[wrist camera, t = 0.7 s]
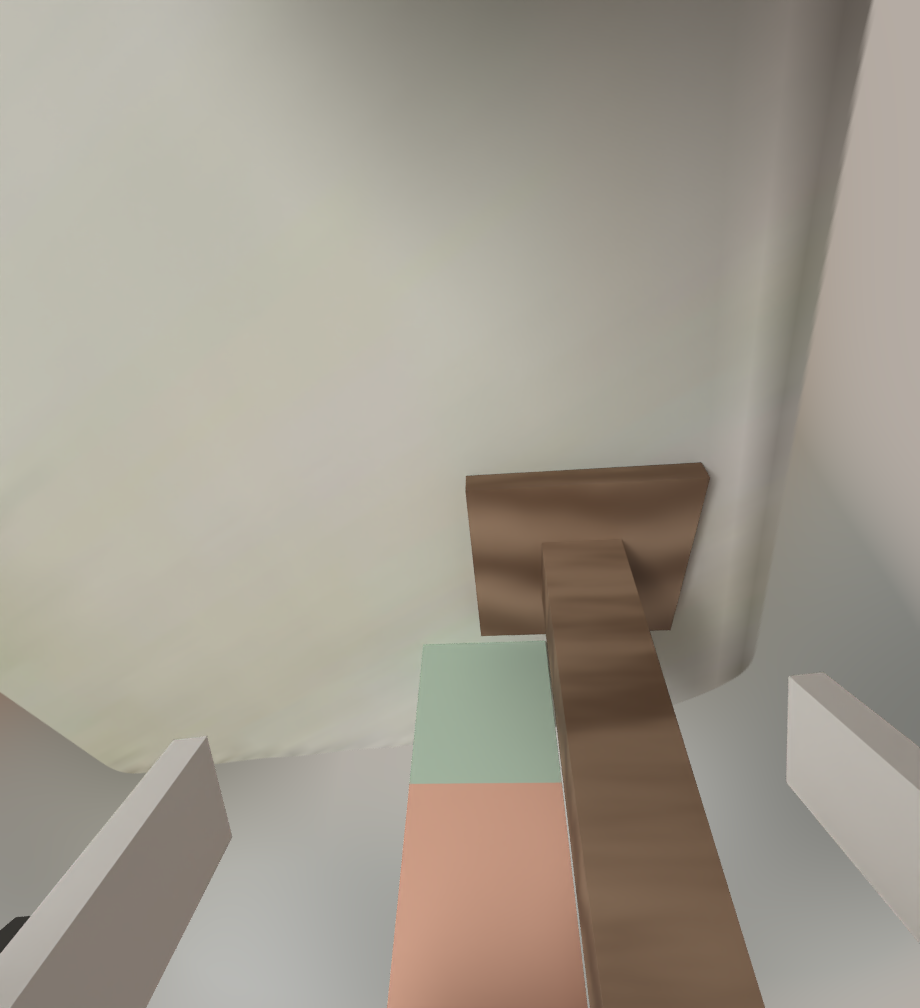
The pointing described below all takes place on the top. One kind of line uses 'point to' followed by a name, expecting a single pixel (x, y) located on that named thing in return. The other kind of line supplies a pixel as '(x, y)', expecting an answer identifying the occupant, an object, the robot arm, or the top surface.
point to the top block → (486, 900)
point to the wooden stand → (617, 719)
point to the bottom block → (485, 715)
